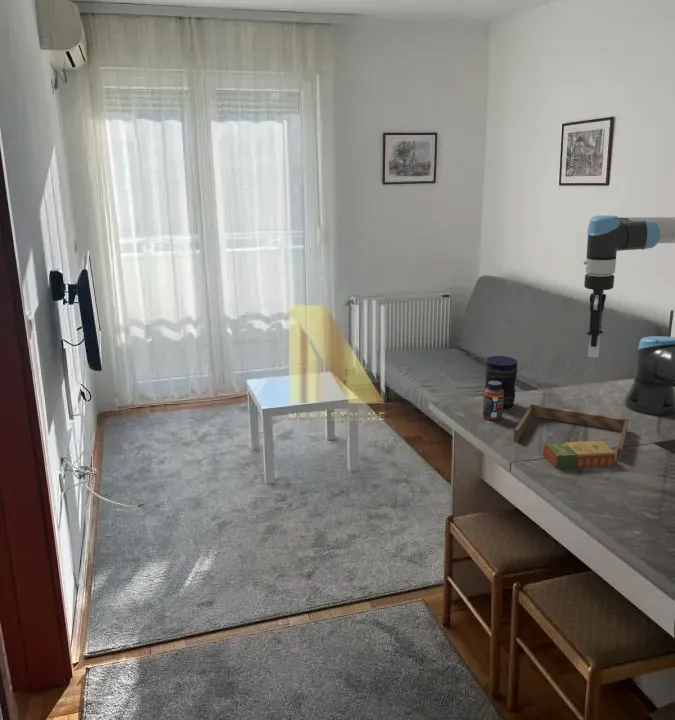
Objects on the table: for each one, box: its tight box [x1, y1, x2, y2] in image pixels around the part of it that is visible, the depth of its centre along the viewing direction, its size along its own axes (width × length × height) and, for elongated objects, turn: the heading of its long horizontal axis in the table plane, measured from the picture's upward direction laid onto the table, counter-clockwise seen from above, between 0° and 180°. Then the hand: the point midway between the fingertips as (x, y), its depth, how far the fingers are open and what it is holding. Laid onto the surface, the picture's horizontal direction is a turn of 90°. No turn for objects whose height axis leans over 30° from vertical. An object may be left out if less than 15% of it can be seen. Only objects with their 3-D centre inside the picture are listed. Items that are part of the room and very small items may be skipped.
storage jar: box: [483, 355, 518, 410], centre depth 216 cm, size 10×10×15 cm
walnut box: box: [513, 403, 630, 462], centre depth 193 cm, size 28×23×4 cm
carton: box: [542, 439, 616, 469], centre depth 178 cm, size 8×16×4 cm, turn 97°
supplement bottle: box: [482, 381, 504, 421], centre depth 206 cm, size 6×6×11 cm
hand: (593, 356), depth 191 cm, fingers closed
